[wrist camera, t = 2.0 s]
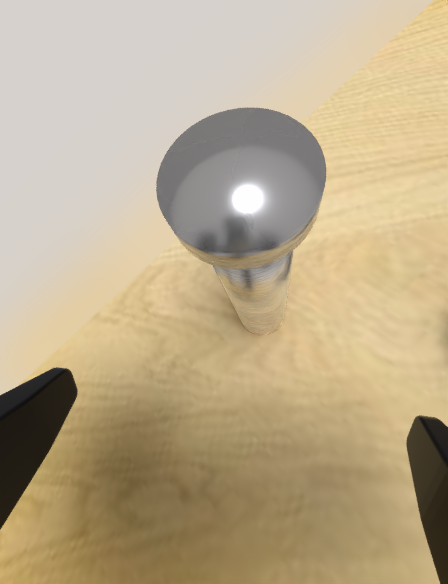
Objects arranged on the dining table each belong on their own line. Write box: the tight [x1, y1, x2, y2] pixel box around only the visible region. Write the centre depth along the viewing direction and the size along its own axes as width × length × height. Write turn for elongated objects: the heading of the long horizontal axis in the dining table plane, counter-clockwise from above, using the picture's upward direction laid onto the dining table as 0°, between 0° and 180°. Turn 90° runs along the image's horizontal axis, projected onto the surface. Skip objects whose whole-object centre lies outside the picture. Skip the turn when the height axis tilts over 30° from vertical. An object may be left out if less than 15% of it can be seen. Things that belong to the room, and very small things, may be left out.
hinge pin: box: [156, 108, 326, 335], centre depth 14 cm, size 4×4×14 cm
